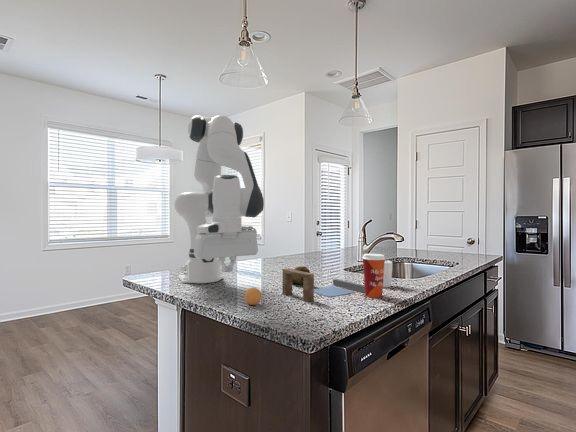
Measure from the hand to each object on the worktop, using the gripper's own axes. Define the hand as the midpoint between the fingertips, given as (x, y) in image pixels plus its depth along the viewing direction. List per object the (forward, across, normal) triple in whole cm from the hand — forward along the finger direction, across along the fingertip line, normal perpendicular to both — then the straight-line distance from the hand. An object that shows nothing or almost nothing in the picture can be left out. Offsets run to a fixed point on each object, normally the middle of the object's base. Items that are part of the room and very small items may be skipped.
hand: (227, 271), depth 106 cm
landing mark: (+12, -43, 0) cm, 45 cm away
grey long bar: (+12, -53, +1) cm, 54 cm away
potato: (+12, -41, -18) cm, 47 cm away
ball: (+9, -9, 0) cm, 13 cm away
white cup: (+12, -68, +4) cm, 69 cm away
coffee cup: (+12, -51, +14) cm, 54 cm away
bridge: (+12, -27, 0) cm, 30 cm away
